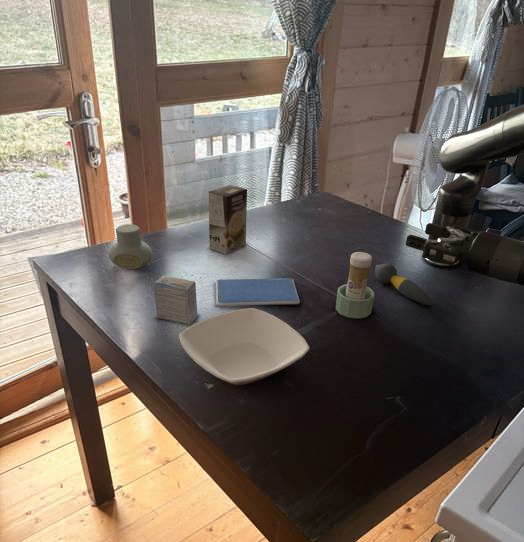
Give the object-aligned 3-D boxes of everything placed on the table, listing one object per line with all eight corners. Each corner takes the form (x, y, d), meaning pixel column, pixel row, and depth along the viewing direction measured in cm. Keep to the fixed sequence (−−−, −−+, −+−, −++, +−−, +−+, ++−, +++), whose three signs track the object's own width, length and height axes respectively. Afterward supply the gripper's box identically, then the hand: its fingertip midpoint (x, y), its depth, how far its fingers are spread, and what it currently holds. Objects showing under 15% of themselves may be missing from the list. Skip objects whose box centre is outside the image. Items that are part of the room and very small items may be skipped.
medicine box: (197, 315, 114) (196, 281, 109) (189, 325, 111) (187, 290, 106) (166, 309, 116) (163, 274, 111) (156, 318, 113) (153, 283, 108)
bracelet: (347, 297, 124) (350, 280, 121) (377, 308, 120) (380, 291, 117) (328, 309, 119) (330, 292, 116) (359, 322, 115) (362, 304, 112)
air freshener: (155, 258, 138) (152, 222, 132) (150, 272, 131) (147, 235, 125) (114, 257, 137) (109, 221, 132) (107, 271, 131) (101, 234, 125)
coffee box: (226, 254, 141) (226, 197, 132) (208, 248, 144) (207, 191, 135) (246, 244, 148) (247, 188, 138) (229, 238, 151) (229, 183, 141)
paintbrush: (440, 304, 123) (445, 285, 120) (427, 310, 120) (431, 291, 117) (377, 273, 135) (380, 256, 132) (364, 278, 133) (367, 260, 130)
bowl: (167, 354, 102) (165, 332, 99) (254, 322, 113) (255, 301, 110) (228, 414, 88) (228, 391, 85) (321, 371, 99) (324, 348, 96)
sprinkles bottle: (339, 309, 119) (347, 255, 111) (350, 302, 122) (358, 249, 114) (356, 316, 117) (365, 261, 109) (367, 309, 120) (376, 255, 112)
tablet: (216, 308, 117) (216, 303, 117) (215, 282, 128) (215, 277, 127) (300, 306, 119) (300, 301, 118) (292, 281, 129) (292, 277, 129)
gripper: (518, 227, 95) (436, 206, 104) (492, 249, 86) (403, 224, 95) (506, 264, 100) (428, 241, 108) (479, 289, 90) (396, 262, 99)
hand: (416, 233), depth 101 cm, fingers open, 8 cm apart
